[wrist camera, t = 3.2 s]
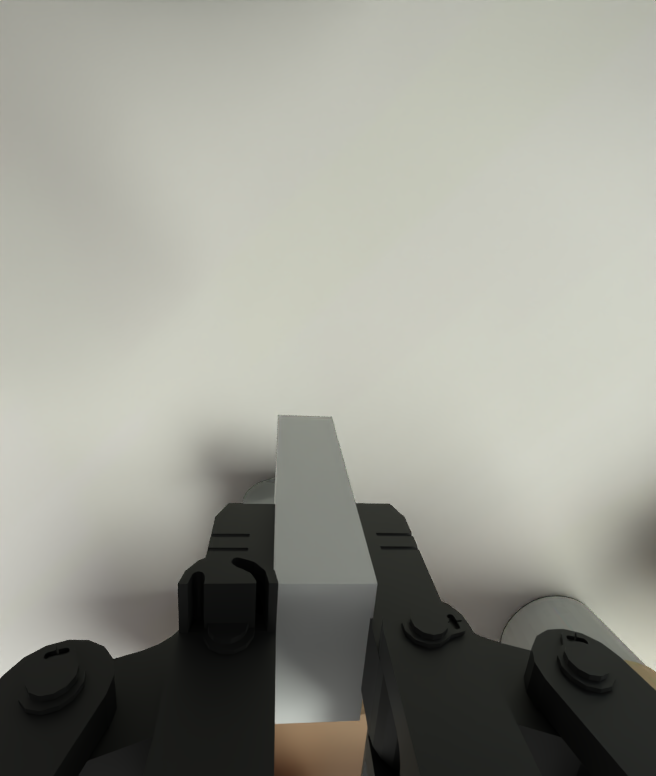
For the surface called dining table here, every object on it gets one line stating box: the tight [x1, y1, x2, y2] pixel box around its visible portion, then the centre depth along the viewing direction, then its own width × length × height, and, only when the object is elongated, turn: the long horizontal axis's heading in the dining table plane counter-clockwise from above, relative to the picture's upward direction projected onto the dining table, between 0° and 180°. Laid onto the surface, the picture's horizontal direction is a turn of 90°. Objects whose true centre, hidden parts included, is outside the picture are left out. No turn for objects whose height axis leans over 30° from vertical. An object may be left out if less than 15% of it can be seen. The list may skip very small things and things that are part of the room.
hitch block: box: [274, 699, 367, 776], centre depth 23 cm, size 6×10×7 cm, turn 86°
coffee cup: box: [501, 596, 656, 690], centre depth 21 cm, size 9×9×15 cm
